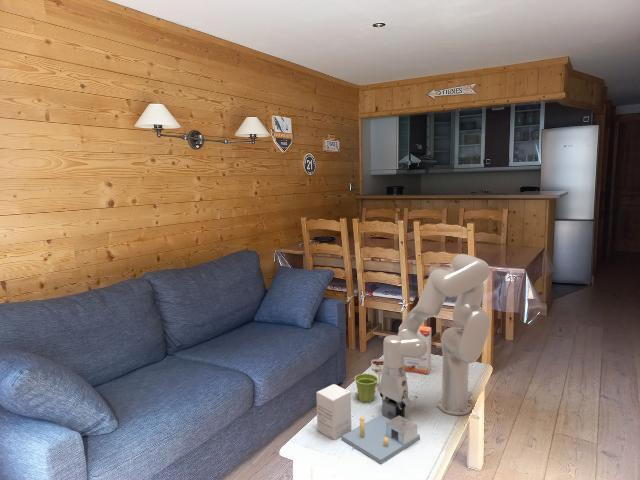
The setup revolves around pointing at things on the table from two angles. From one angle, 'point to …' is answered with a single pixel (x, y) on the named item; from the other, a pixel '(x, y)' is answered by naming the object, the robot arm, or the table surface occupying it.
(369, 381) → the plant pot
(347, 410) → the supplement box
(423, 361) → the cracker box
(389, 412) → the block
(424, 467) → the table surface
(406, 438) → the housing cover
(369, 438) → the assembly board
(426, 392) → the table surface
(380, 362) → the wineglass
